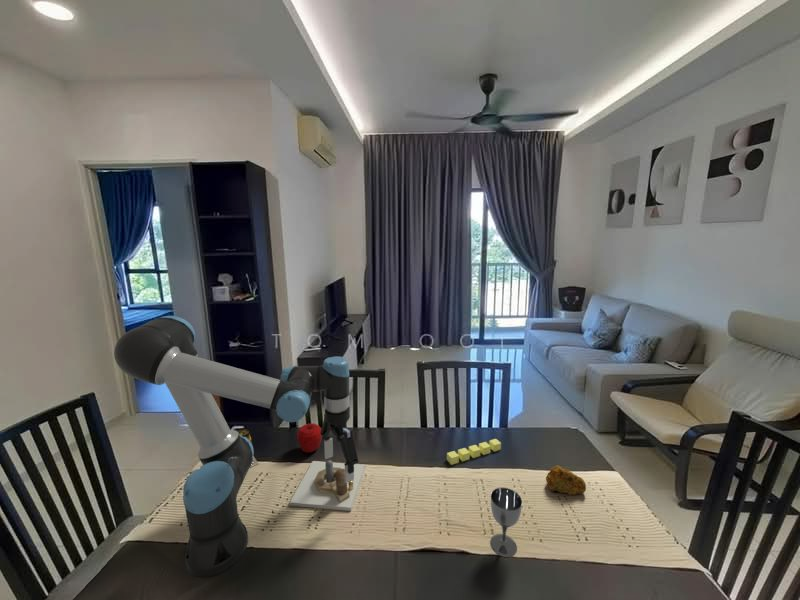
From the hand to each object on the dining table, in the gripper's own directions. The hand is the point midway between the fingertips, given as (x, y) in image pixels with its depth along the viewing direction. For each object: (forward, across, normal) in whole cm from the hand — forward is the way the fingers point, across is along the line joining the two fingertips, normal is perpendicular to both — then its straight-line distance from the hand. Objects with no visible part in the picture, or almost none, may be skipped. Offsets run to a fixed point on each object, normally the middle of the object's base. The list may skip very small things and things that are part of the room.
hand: (338, 468), depth 109 cm
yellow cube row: (+11, -11, -52) cm, 54 cm away
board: (+12, +8, -1) cm, 14 cm away
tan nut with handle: (+10, +5, -1) cm, 12 cm away
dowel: (+11, +1, -5) cm, 12 cm away
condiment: (+13, +39, +19) cm, 45 cm away
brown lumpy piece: (+10, -43, -62) cm, 76 cm away
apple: (+12, +30, -4) cm, 33 cm away
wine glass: (+11, -43, -28) cm, 52 cm away
